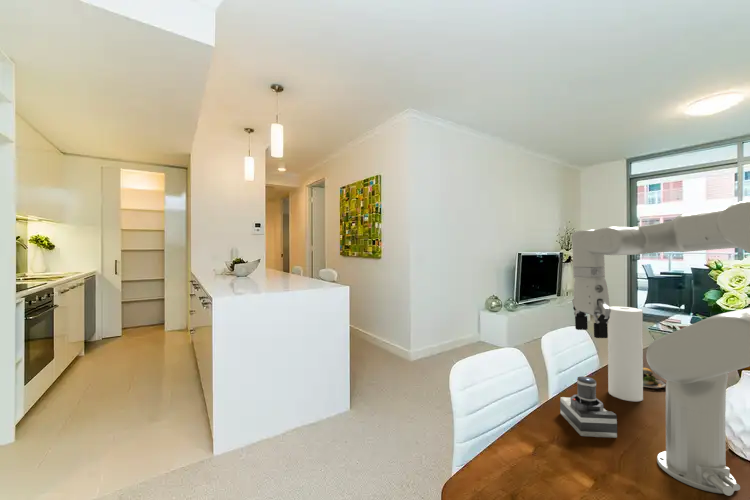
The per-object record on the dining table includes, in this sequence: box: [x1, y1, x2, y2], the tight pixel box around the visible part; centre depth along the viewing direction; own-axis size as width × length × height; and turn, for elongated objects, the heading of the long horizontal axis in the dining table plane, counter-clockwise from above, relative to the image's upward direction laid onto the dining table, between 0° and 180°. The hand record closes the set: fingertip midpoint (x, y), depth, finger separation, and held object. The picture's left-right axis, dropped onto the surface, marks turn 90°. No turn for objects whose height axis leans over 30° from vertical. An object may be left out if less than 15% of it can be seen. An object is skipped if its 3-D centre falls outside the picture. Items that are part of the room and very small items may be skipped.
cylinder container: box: [607, 305, 644, 402], centre depth 111 cm, size 9×9×30 cm
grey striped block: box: [559, 394, 618, 439], centre depth 93 cm, size 12×9×7 cm
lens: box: [576, 376, 597, 405], centre depth 93 cm, size 5×5×8 cm
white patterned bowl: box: [643, 365, 666, 390], centre depth 120 cm, size 12×12×8 cm
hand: (590, 333), depth 92 cm, fingers open, 9 cm apart
